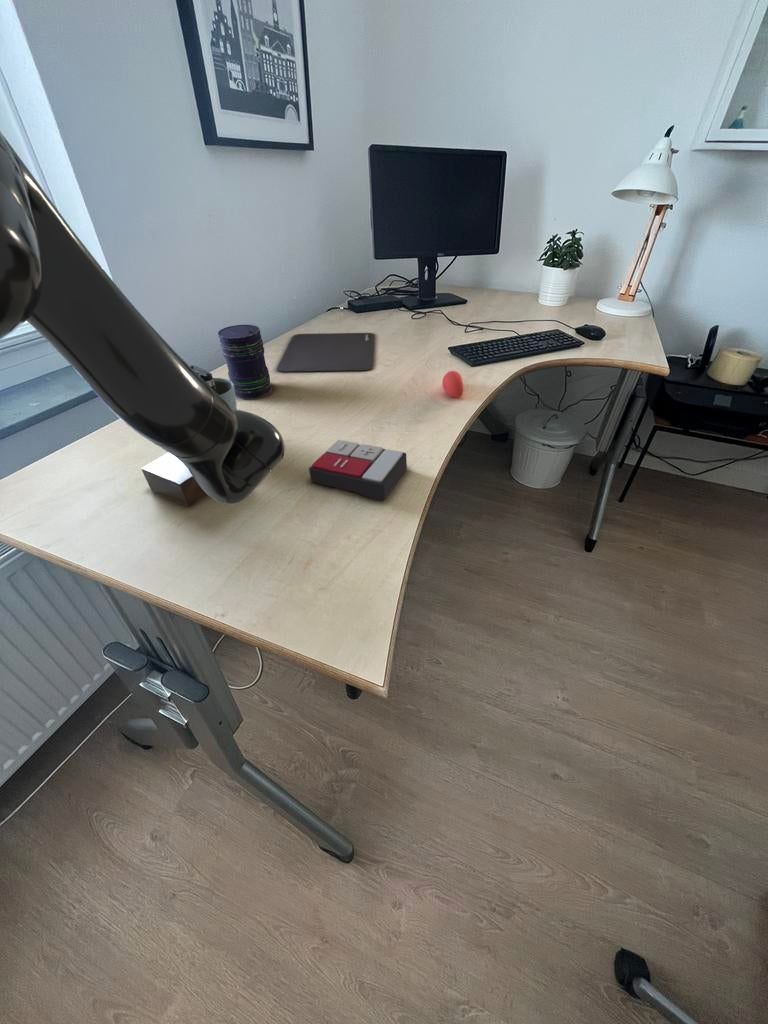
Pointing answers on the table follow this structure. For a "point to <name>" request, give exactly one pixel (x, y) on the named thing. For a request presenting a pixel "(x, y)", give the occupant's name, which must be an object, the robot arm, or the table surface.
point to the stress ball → (453, 384)
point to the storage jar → (245, 360)
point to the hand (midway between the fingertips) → (148, 375)
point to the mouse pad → (328, 352)
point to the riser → (173, 480)
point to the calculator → (359, 468)
